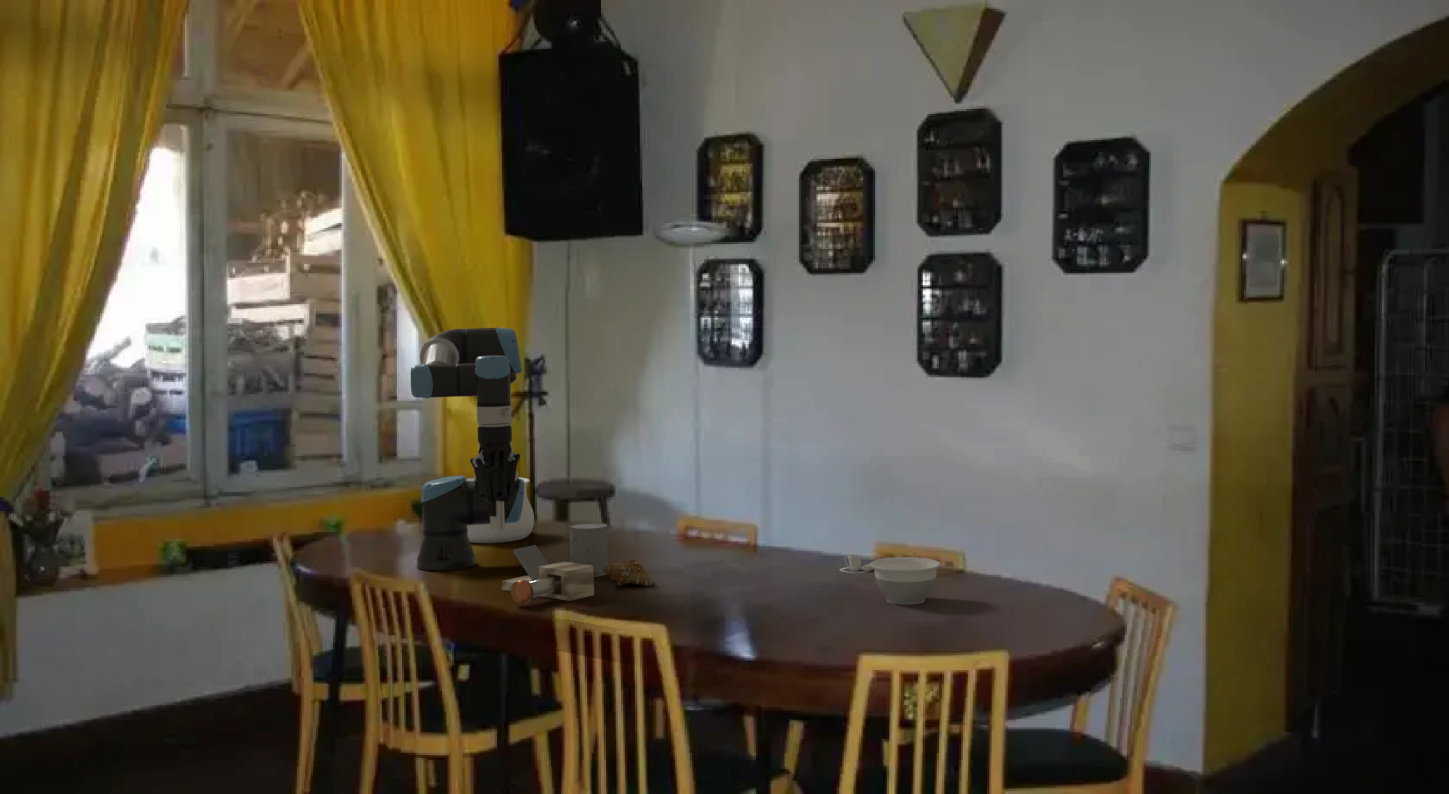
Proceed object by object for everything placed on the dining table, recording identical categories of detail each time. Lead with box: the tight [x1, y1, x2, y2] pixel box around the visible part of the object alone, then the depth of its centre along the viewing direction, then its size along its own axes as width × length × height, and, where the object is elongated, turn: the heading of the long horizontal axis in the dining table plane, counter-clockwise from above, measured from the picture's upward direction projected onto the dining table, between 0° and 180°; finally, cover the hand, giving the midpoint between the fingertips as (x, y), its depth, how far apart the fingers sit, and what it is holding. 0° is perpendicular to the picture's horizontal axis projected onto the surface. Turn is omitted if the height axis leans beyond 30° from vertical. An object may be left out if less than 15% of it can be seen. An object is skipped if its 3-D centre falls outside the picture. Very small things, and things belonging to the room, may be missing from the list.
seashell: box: [603, 559, 653, 587], centre depth 353 cm, size 9×8×10 cm
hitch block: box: [501, 561, 595, 602], centre depth 346 cm, size 23×8×7 cm, turn 51°
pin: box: [510, 576, 561, 605], centre depth 336 cm, size 5×14×5 cm, turn 141°
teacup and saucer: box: [839, 554, 874, 574], centre depth 367 cm, size 9×8×4 cm
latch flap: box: [512, 544, 550, 581], centre depth 348 cm, size 11×7×1 cm
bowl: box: [869, 556, 942, 606], centre depth 329 cm, size 16×16×9 cm
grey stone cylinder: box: [568, 522, 609, 578], centre depth 369 cm, size 10×10×12 cm
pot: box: [466, 476, 535, 544], centre depth 429 cm, size 26×24×17 cm
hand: (497, 530), depth 325 cm, fingers closed
